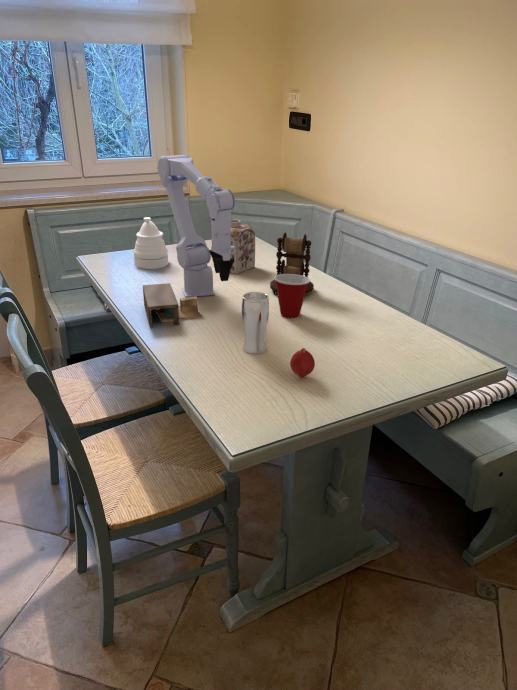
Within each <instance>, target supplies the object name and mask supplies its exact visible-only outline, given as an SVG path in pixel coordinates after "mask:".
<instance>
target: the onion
mask: <svg viewBox="0 0 517 690" xmlns="http://www.w3.org/2000/svg"><path fill="white" fill-rule="evenodd" d="M289 361H290V363H289V366H290V369H291V371H292V372H293V373H294V374H295V375H296V376H298V377H299V378H302V379H303V378H306V377H307V376H309V375H310V374H312V372H313V371H314V369H315V367H316V365H315V364H316V363H315V358H314V357H313V355H312V354H311V353H310V352H309V351H308V350H306V348H305V347H302V348H301V349H299V350H297V351H296V352H294V353H293V355H292V356H291V359H290V360H289Z"/></svg>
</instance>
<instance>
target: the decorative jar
mask: <svg viewBox="0 0 517 690" xmlns="http://www.w3.org/2000/svg"><path fill="white" fill-rule="evenodd" d="M231 246H234V247H235V249H234V250H231V252H230V258H234V259H235V261H234V263H233V265H232V267H231V270H230V274H235V275H239V274H241V273H243V272H246V271H248V270H251V269H253V268H255V266H256V265H255V264H256V232H255V230H254V229H253V228H252V227H250V225H249V224H245V223H242V222H241V220H240V219H231Z"/></svg>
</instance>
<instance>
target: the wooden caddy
mask: <svg viewBox="0 0 517 690" xmlns="http://www.w3.org/2000/svg"><path fill="white" fill-rule="evenodd" d="M142 293H143V296H142V297H143V307H144V310H145V314H146V318H147V322H148V327H149V328H150V329H152V328H153V318H152V310H155V309H163V308H173V321H172V322H173V325H174V326H179V325H180V320H179V311H178V307H179V306H180V304H179V302H178V300H177V296H176V294H175V292H174V290H173V287H172V284H171V283H170V282H169V283H168V282H167V283H155V284H143V285H142Z"/></svg>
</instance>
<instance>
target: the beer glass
mask: <svg viewBox="0 0 517 690" xmlns="http://www.w3.org/2000/svg"><path fill="white" fill-rule="evenodd" d="M269 299H270V298H269V295H268V294H267V293H265V292H262V291H249V292H245V293H243V294H242V301H241V302H242V303H241V320H242V327H243V331H244V340H243V341H244V342H243V346H242V349H243V351H244V352H245V353H247V354H250V355H259V354H264V353H265V352H266V350H267V345H266V339H265V338H266V331H267V327H268V323H269V316H270V303H269V301H270V300H269Z"/></svg>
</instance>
